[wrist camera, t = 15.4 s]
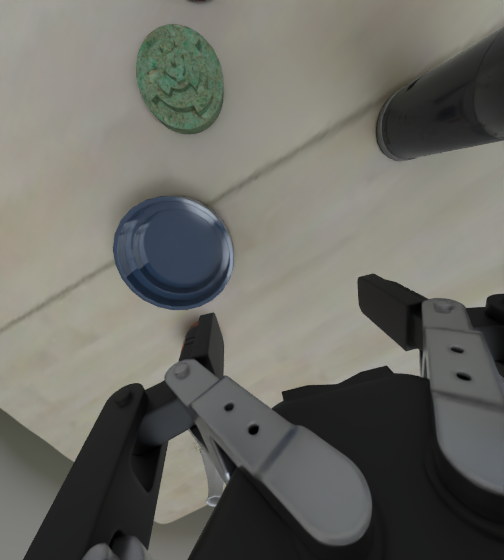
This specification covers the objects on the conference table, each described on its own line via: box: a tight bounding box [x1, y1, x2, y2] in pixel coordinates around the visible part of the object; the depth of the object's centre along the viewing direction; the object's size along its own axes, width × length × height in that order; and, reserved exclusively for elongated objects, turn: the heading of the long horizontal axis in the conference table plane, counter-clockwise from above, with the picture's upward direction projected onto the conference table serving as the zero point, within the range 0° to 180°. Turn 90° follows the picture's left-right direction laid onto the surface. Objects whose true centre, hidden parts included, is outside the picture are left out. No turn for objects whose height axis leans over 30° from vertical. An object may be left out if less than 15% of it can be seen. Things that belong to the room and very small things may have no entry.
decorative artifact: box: [136, 24, 223, 134], centre depth 27 cm, size 10×7×10 cm
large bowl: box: [113, 196, 234, 310], centre depth 35 cm, size 16×16×5 cm
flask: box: [201, 449, 224, 506], centre depth 49 cm, size 7×7×10 cm
